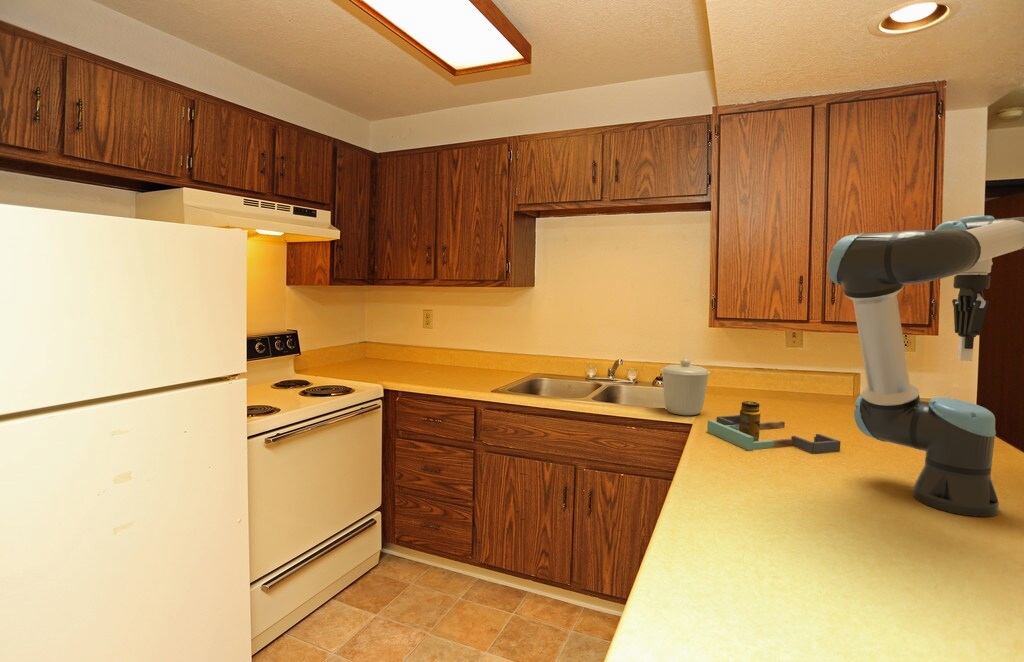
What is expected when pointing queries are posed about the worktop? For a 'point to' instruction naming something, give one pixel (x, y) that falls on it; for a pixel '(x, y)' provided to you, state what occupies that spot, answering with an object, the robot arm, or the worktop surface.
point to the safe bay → (736, 436)
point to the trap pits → (794, 438)
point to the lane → (781, 441)
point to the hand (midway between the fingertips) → (964, 360)
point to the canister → (684, 388)
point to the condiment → (750, 419)
